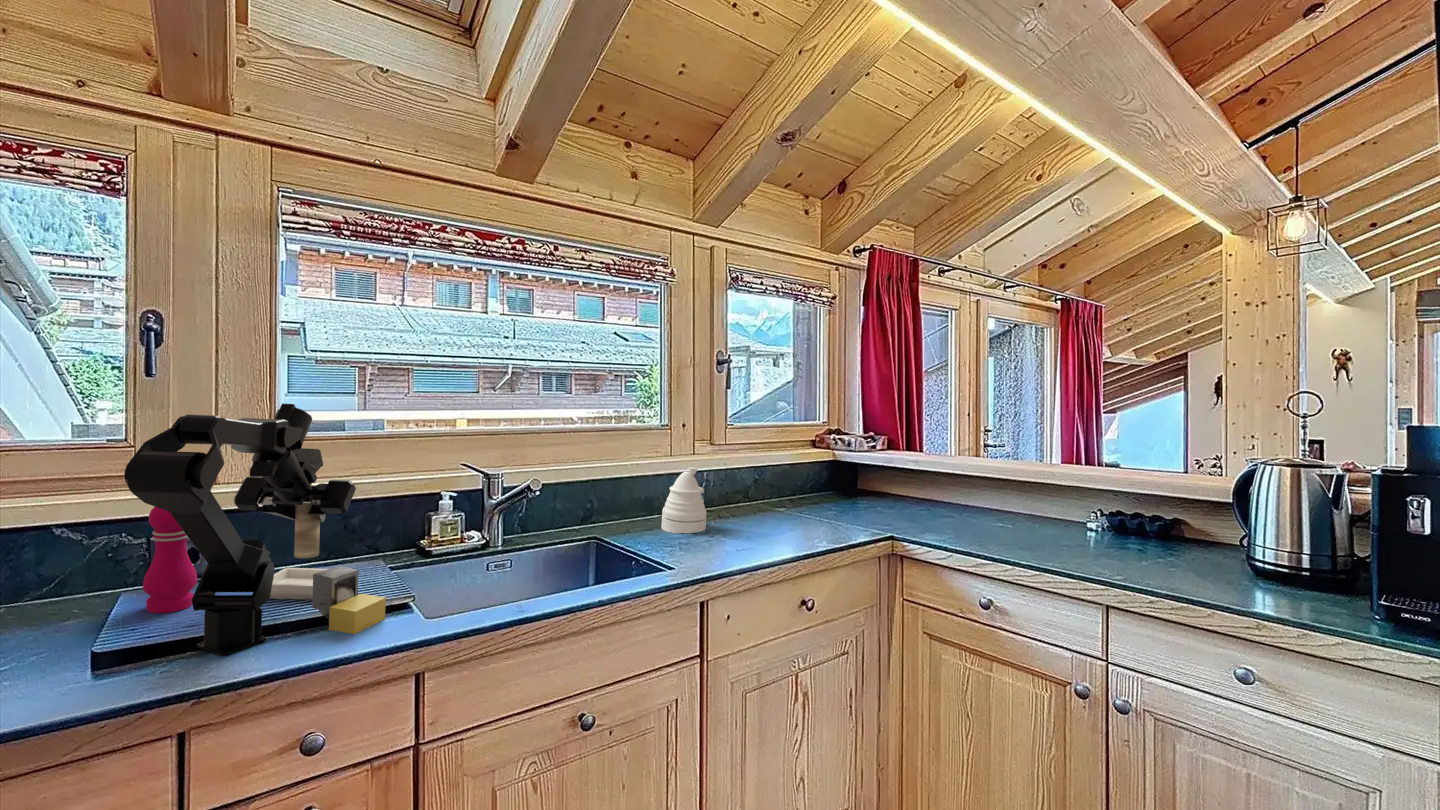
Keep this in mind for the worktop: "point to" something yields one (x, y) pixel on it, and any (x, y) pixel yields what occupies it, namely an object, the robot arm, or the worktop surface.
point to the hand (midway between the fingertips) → (311, 519)
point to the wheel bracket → (333, 587)
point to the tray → (294, 583)
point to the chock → (357, 613)
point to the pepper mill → (168, 566)
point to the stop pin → (306, 532)
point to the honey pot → (684, 506)
